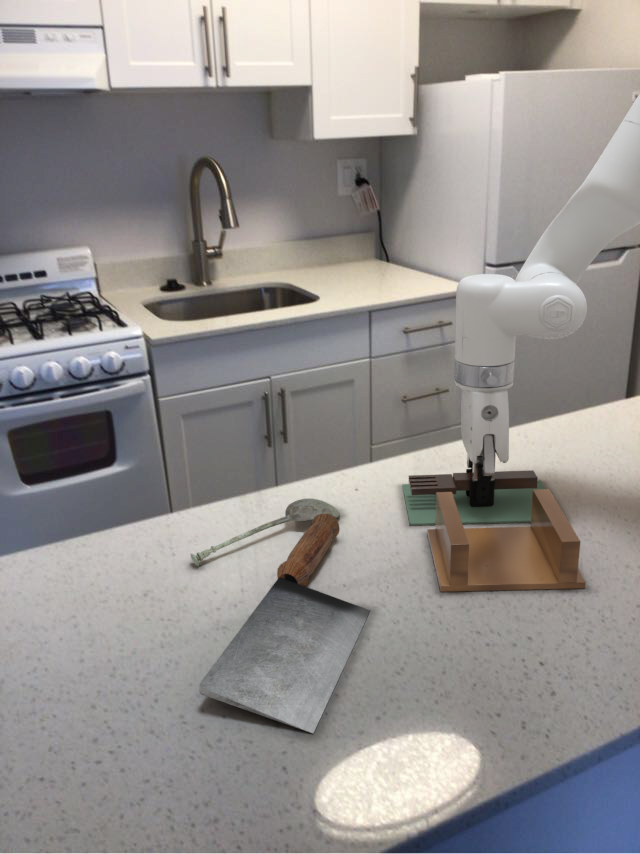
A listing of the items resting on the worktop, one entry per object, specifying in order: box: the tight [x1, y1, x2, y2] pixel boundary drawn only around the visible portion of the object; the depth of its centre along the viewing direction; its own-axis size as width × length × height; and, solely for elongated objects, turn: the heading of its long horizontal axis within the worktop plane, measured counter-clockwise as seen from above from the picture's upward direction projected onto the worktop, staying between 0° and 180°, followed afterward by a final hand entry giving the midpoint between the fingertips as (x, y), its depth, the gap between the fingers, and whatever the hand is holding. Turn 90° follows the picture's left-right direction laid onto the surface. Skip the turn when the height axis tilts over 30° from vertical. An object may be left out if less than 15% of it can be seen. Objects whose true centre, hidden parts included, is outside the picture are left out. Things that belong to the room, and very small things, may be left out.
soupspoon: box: [190, 497, 341, 567], centre depth 97 cm, size 22×3×7 cm
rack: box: [426, 488, 587, 593], centre depth 89 cm, size 16×13×6 cm
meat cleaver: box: [198, 514, 371, 734], centre depth 81 cm, size 34×11×4 cm, turn 162°
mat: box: [401, 479, 546, 526], centre depth 104 cm, size 20×12×1 cm, turn 89°
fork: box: [408, 469, 539, 495], centre depth 103 cm, size 17×4×2 cm, turn 89°
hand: (479, 499), depth 104 cm, fingers closed on fork, 2 cm apart
